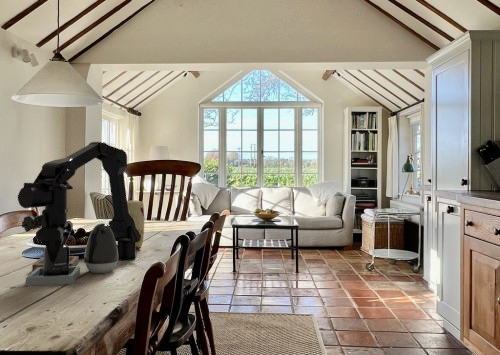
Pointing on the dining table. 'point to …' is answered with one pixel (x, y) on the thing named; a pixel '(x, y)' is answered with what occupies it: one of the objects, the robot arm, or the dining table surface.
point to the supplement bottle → (57, 261)
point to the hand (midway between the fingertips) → (55, 259)
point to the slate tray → (52, 277)
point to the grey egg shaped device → (101, 250)
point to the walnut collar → (72, 262)
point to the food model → (137, 218)
